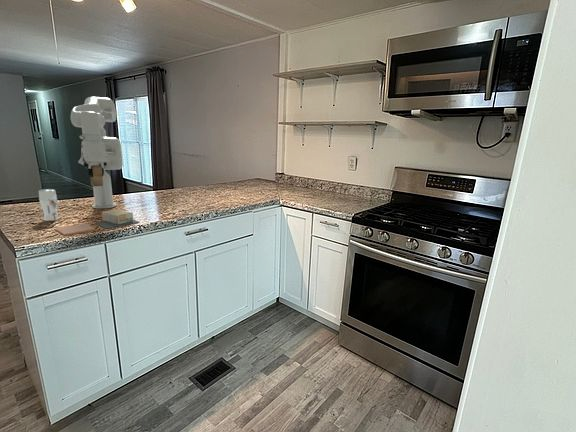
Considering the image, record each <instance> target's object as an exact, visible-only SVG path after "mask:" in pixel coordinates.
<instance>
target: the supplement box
mask: <svg viewBox="0 0 576 432" xmlns="http://www.w3.org/2000/svg"><path fill="white" fill-rule="evenodd" d="M101 218H102V220H101V221H107V222H111V223H115V224H123V223H127V222H132V221H133V220H134V216H133V211H132V212H131V211H128V210H123V209H117V208H114V209H109V210H103V211H101Z"/></svg>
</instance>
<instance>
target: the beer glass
mask: <svg viewBox="0 0 576 432" xmlns="http://www.w3.org/2000/svg"><path fill="white" fill-rule="evenodd" d="M38 200H39V203H40V207H41V210H42V212H43V220H44V221H45V222H53V221H57V220H60V217H59V215H58V197H57V192H56V189H53V188H46V189H45V188H44V189H39V190H38Z"/></svg>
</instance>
